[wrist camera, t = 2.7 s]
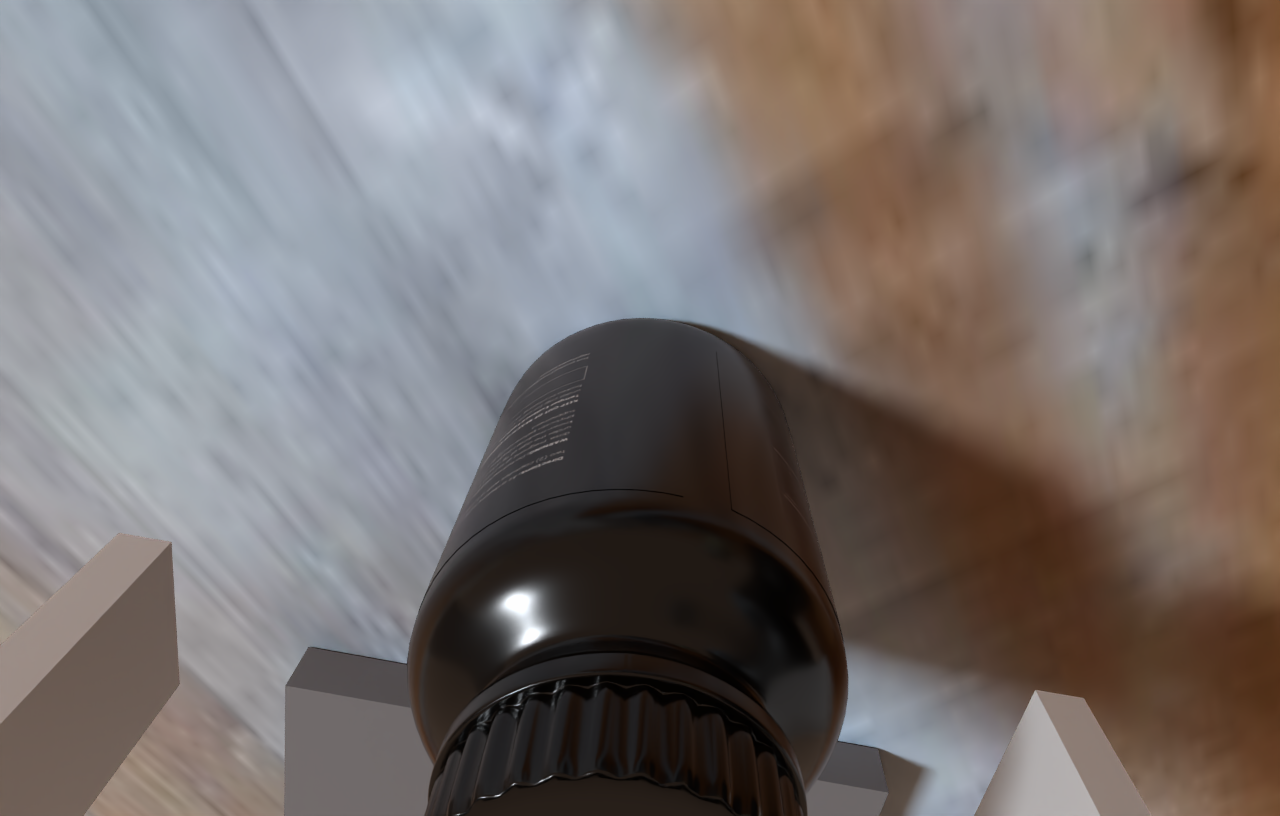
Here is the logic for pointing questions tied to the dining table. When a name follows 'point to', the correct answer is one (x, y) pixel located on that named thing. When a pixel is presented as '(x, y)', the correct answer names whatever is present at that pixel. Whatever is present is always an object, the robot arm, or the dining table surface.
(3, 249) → the dining table surface
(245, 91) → the dining table surface
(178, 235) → the dining table surface
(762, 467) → the supplement bottle
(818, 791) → the board
